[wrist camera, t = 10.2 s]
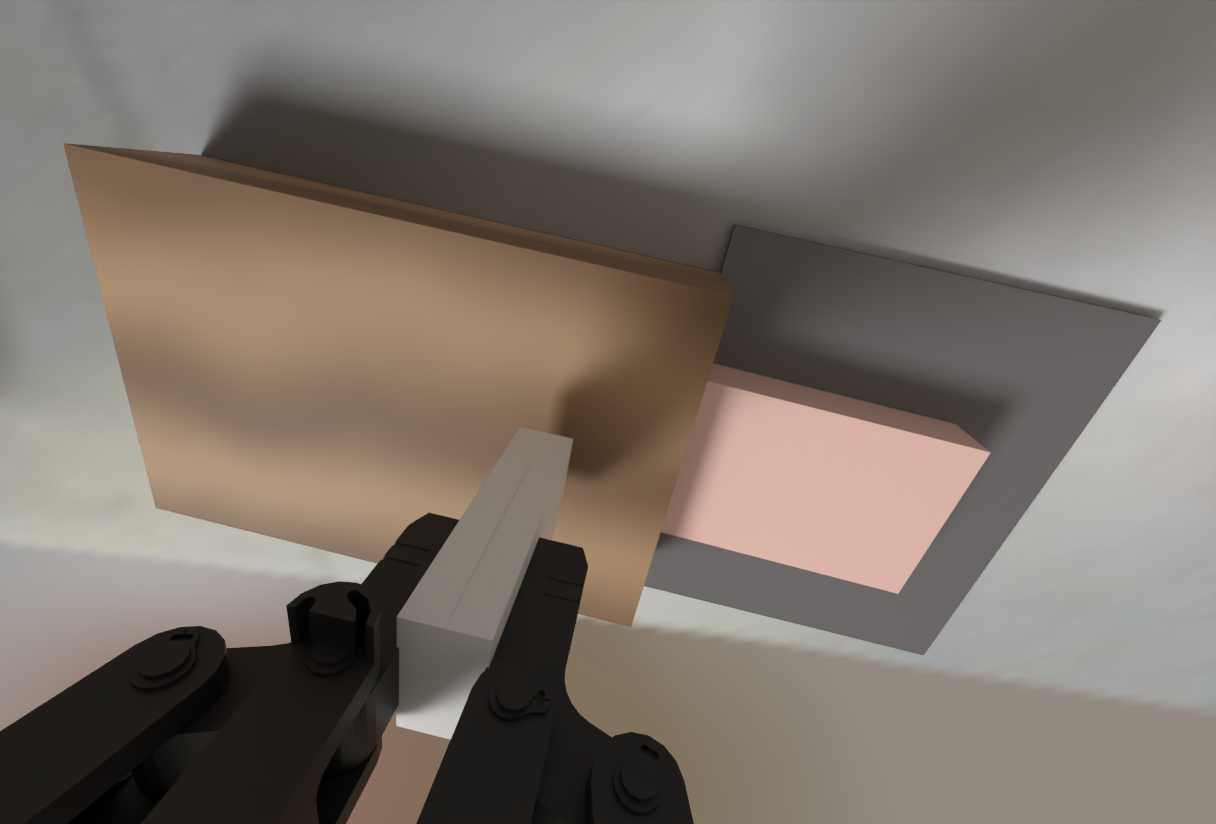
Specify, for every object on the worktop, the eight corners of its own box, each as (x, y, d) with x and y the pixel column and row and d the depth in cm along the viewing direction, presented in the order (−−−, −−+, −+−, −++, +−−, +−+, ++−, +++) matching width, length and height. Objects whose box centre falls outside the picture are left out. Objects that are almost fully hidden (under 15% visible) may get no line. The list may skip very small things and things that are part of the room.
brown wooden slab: (199, 155, 16) (63, 143, 13) (720, 272, 16) (733, 296, 12) (243, 454, 21) (155, 507, 18) (638, 552, 21) (630, 627, 17)
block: (700, 360, 17) (703, 380, 15) (956, 424, 16) (990, 452, 15) (656, 499, 19) (654, 530, 17) (876, 556, 19) (898, 594, 17)
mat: (734, 224, 15) (735, 225, 15) (1152, 317, 15) (1161, 320, 14) (631, 577, 21) (630, 582, 21) (920, 649, 21) (923, 655, 21)
